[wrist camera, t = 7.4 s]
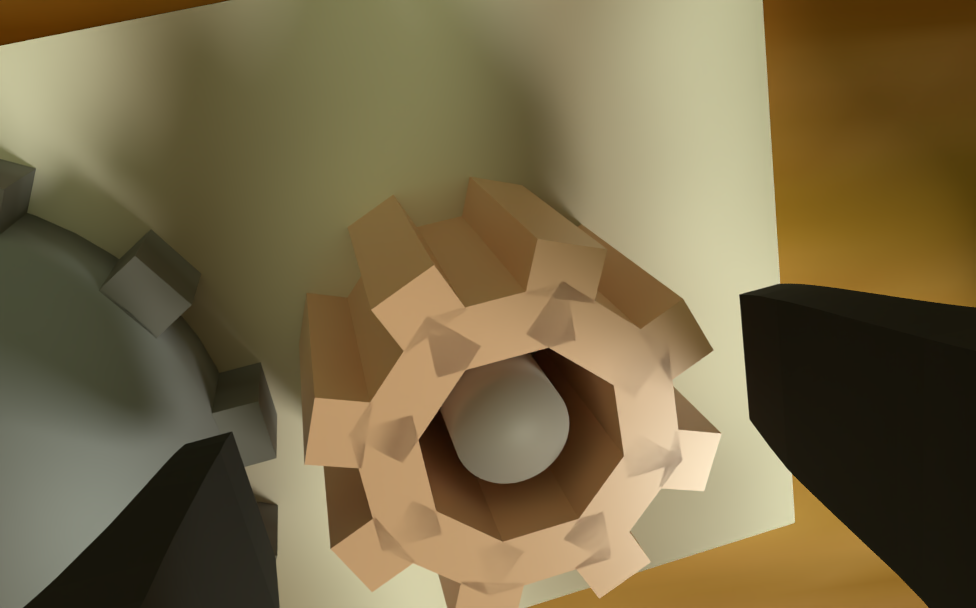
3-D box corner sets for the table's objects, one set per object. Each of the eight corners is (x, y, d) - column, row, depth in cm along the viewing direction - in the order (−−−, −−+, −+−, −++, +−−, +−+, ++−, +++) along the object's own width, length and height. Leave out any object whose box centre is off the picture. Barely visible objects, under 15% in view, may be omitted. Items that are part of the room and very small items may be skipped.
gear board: (725, -97, 14) (907, -139, 10) (769, 496, 19) (908, 637, 14) (-645, 174, 11) (-1179, 272, 7) (-212, 800, 16) (-389, 1084, 12)
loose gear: (590, 148, 14) (699, 198, 10) (629, 429, 16) (733, 555, 12) (264, 225, 13) (255, 310, 10) (348, 511, 15) (368, 672, 12)
